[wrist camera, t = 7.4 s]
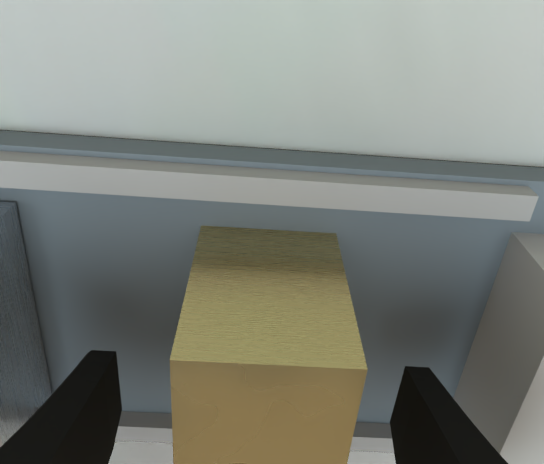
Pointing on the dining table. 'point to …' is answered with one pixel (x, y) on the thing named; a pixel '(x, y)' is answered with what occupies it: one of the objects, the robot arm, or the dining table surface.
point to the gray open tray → (293, 217)
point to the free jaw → (18, 332)
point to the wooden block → (266, 351)
